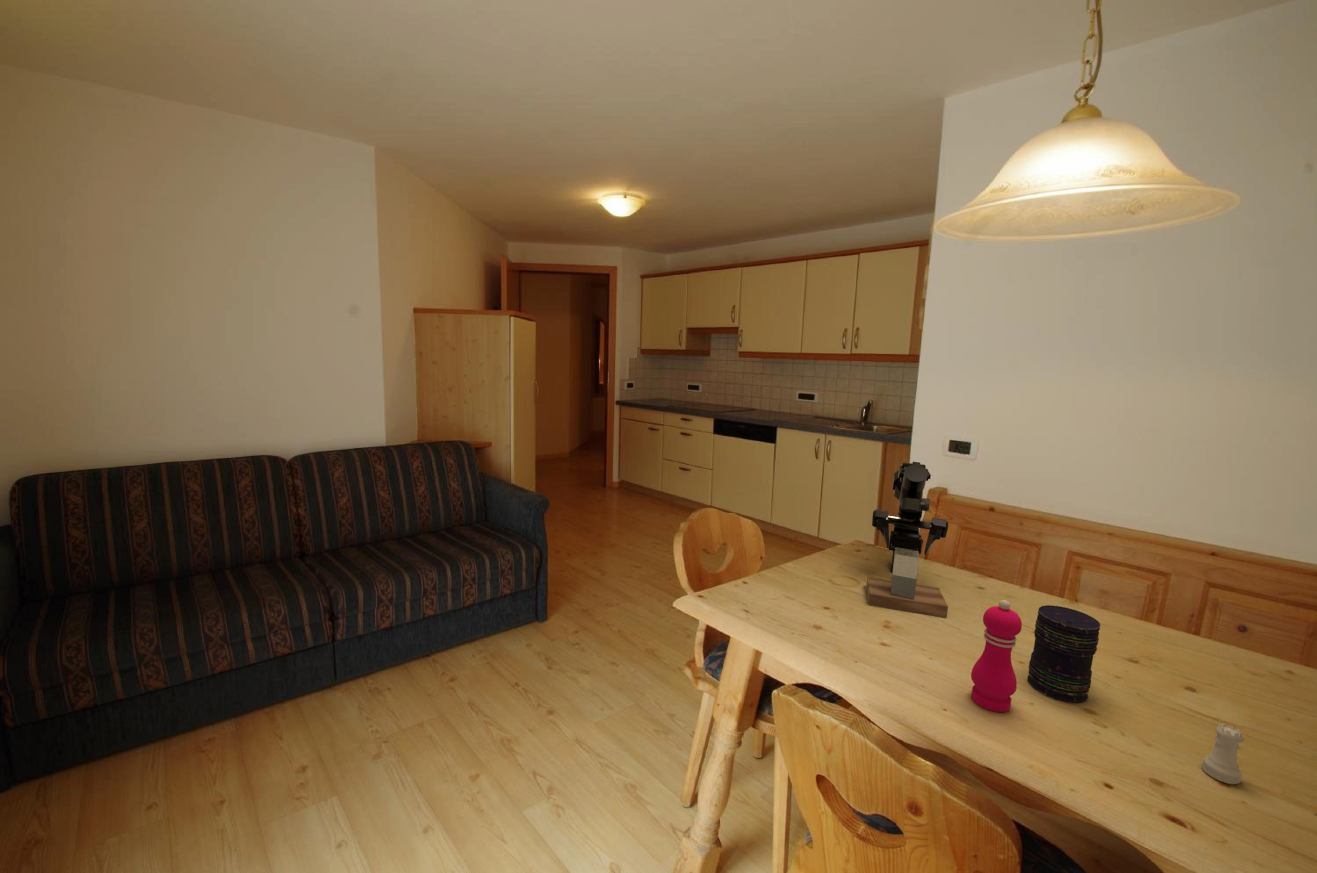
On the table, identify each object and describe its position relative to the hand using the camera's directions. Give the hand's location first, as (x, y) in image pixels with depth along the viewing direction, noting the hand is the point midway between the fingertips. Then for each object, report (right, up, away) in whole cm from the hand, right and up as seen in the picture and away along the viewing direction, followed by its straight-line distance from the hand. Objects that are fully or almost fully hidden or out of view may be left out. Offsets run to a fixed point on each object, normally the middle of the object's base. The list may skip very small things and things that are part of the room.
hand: (906, 550), depth 147 cm
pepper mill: (-4, -19, -44) cm, 48 cm away
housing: (-3, -10, -5) cm, 12 cm away
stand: (-2, -13, -3) cm, 13 cm away
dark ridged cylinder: (+12, -19, -39) cm, 45 cm away
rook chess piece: (+22, -23, -61) cm, 68 cm away
